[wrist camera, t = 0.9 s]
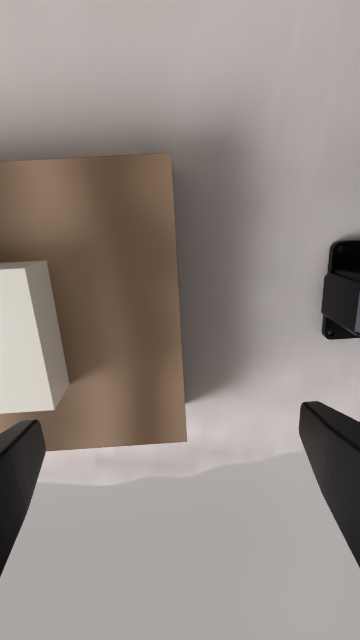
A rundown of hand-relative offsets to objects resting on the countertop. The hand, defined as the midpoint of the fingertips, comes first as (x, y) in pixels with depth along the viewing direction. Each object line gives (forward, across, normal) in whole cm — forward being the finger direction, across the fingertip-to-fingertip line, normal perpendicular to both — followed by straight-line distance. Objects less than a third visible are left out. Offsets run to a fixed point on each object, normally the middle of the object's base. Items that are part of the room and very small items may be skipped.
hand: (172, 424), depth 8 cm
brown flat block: (+13, +8, 0) cm, 15 cm away
